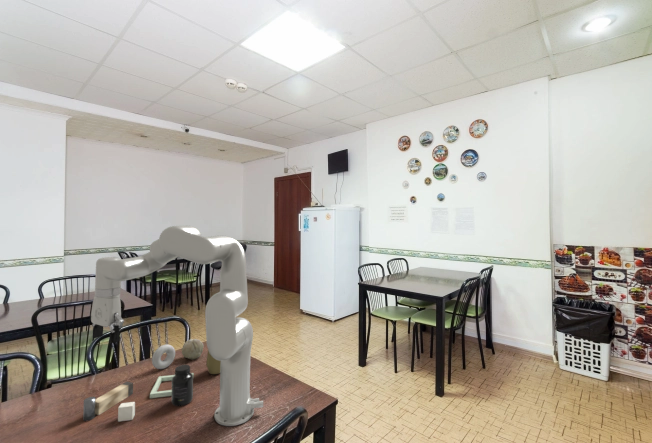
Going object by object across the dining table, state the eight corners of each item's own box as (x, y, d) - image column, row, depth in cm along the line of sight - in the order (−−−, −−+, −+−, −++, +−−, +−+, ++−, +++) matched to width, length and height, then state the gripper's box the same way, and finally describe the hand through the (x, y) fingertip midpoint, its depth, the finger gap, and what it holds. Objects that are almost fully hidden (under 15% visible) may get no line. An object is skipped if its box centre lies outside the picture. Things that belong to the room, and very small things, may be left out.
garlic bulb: (202, 361, 145) (210, 342, 145) (187, 366, 138) (195, 345, 138) (189, 351, 150) (197, 332, 150) (174, 355, 142) (182, 334, 142)
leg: (98, 415, 101) (99, 402, 101) (91, 413, 102) (91, 401, 102) (132, 393, 114) (133, 382, 114) (126, 392, 114) (126, 381, 114)
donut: (172, 362, 139) (172, 340, 139) (176, 364, 137) (177, 342, 137) (149, 371, 130) (150, 348, 130) (154, 374, 128) (154, 350, 128)
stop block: (134, 415, 101) (135, 401, 101) (132, 419, 99) (132, 406, 99) (120, 416, 100) (121, 403, 100) (118, 421, 98) (118, 407, 98)
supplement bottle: (173, 397, 112) (173, 364, 112) (193, 394, 114) (194, 362, 114) (169, 408, 105) (170, 373, 105) (191, 405, 107) (192, 370, 107)
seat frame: (193, 376, 127) (193, 372, 127) (188, 393, 114) (188, 389, 114) (158, 380, 123) (158, 376, 123) (149, 398, 111) (149, 394, 111)
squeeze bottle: (219, 377, 127) (220, 333, 127) (202, 374, 128) (202, 331, 128) (229, 368, 135) (230, 326, 135) (212, 365, 136) (213, 325, 136)
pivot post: (96, 414, 101) (97, 396, 101) (92, 420, 99) (92, 401, 99) (86, 415, 101) (86, 397, 101) (81, 421, 98) (81, 402, 98)
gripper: (82, 290, 111) (80, 338, 111) (111, 297, 104) (109, 348, 104) (104, 287, 118) (102, 331, 118) (133, 293, 111) (131, 341, 111)
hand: (105, 339), depth 111 cm, fingers open, 9 cm apart
